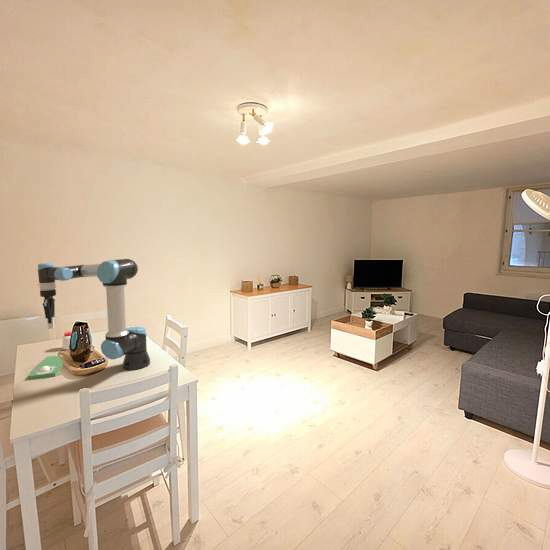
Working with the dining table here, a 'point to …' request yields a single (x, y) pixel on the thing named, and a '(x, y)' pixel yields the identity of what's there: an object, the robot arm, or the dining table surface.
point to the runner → (52, 362)
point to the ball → (45, 369)
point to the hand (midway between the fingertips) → (51, 328)
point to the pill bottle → (66, 340)
